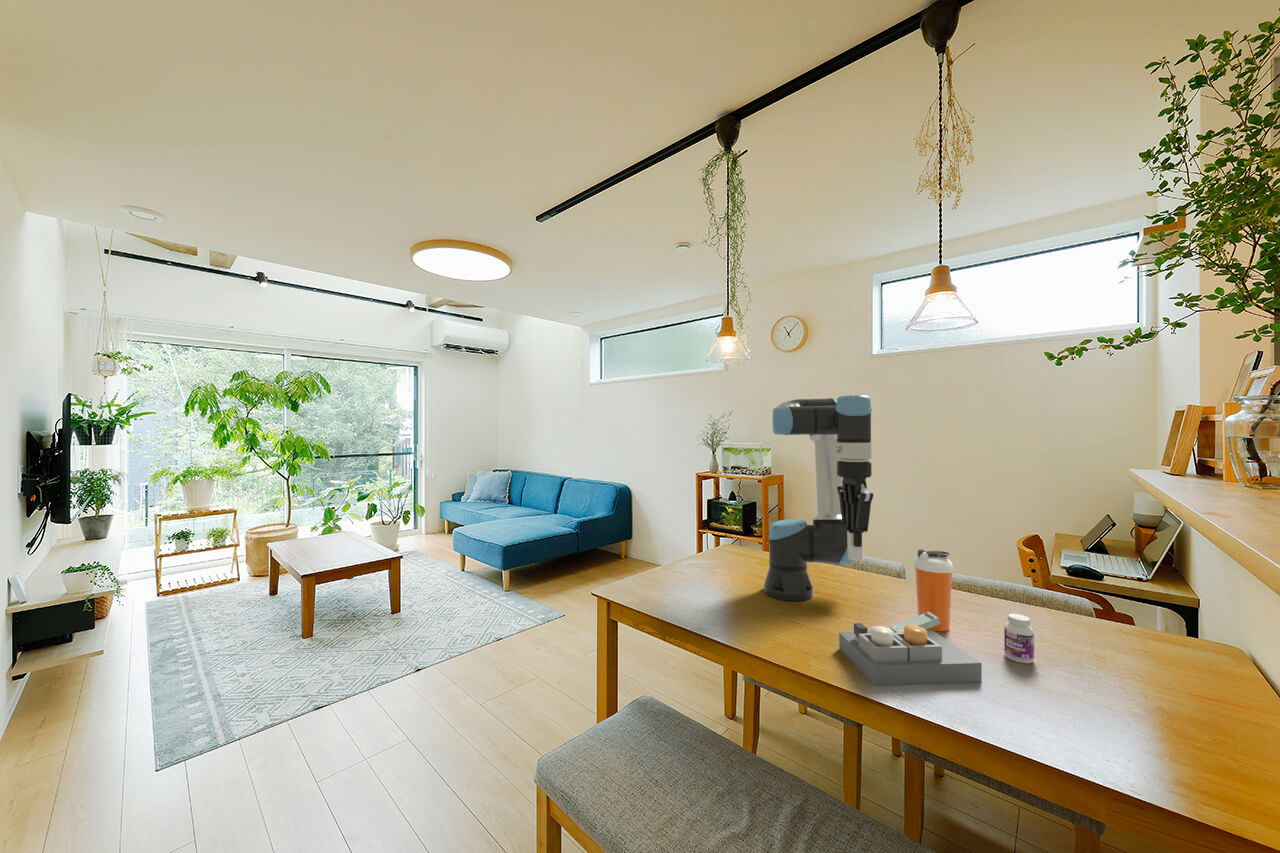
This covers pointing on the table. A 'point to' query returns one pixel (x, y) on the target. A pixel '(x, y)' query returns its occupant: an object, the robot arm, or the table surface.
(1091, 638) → the table surface
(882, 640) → the button
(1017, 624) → the pill bottle
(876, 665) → the panel
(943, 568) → the shaker bottle
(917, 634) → the button
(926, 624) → the block
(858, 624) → the slider
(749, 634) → the table surface
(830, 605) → the table surface
